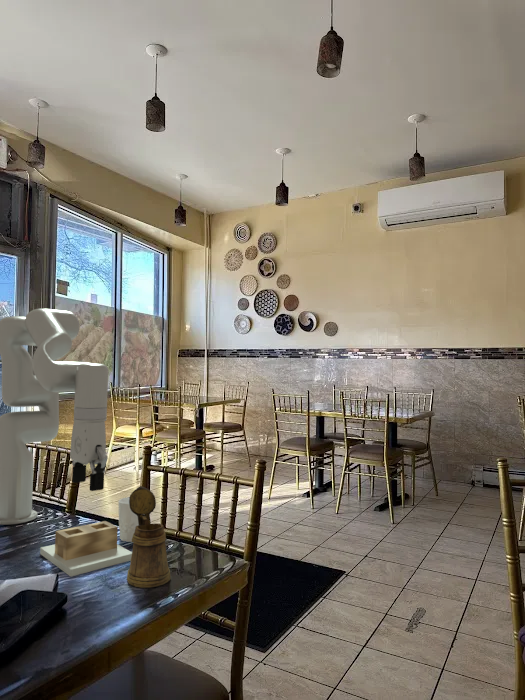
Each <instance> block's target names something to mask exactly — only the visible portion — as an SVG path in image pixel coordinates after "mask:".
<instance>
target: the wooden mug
mask: <svg viewBox="0 0 525 700" xmlns="http://www.w3.org/2000/svg"><path fill="white" fill-rule="evenodd" d="M128 497H129V505H130V509H131V511H132V512H133V513H134V514H136V515H137V516H138V526H136V528H135V533H134V534H133V537H132V542H131V543H132V550H131V552H132V556H131V561H130V563H129V568H128V569H127V575H126V581H127V583H128V584H129V585H130V586H132V587H135V588H142V589H144V588H145V589H146V588H148V589H149V588H155V587H161V586H163V585H165V584H167V583H169V582H170V580H171V579H172V578H171V570H170V568H169V563H168V562H169V561H168V554H167V546H166V539H167V536H166V531H165V528H164V525H163V524H162V523H151V521H152V520H151V513H152V512H154V511H155V508H156V504H157V500H156V496H155V494H154V493H153V492H152V491H151V490H150V489H148V488H146V487H144V486H143V485H140V486H138V487H137V488H135V489H134V490H133V491H132V492H131V494H129V496H128ZM144 514H145V515H144Z"/></svg>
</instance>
